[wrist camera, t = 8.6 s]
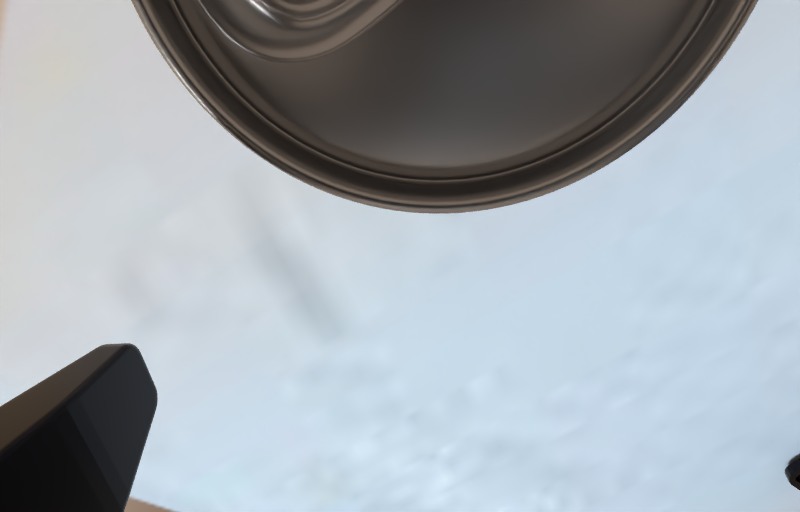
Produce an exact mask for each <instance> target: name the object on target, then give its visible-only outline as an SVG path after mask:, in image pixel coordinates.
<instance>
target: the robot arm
mask: <svg viewBox="0 0 800 512" xmlns="http://www.w3.org/2000/svg"><path fill="white" fill-rule="evenodd" d="M156 407H157V390H156V387H155V385H154V382H153V380H152V378H151V375H150V373H149V371H148V369H147V366H146V364H145V362H144V360H143V357H142V355H141V353H140V351H139V349H138V348H137V347H136V346H135V345H133V344H129V343H124V344H105V345H102V346H100V347H98V348H96V349H94V350H93V351H91V352H89V353H88V354H86V355H84V356H83V357H81V358H80V359H78V360H76V361H75V362H73V363H71V364H70V365H68V366H66V367H65V368H63V369H61V370H60V371H58V372H56V373H55V374H53V375H52V376H50V377H48V378H47V379H45V380H43V381H42V382H40V383H38V384H37V385H35V386H33V387H32V388H30V389H28V390H27V391H25V392H23V393H22V394H20V395H19V396H17V397H15V398H14V399H12V400H10V401H9V402H7V403H5V404H4V405H2V406H0V512H124V509H125V506H126V503H127V501H128V498H129V495H130V492H131V488H132V485H133V482H134V479H135V476H136V472H137V469H138V466H139V463H140V459H141V456H142V453H143V450H144V446H145V443H146V440H147V437H148V433H149V430H150V427H151V424H152V421H153V417H154V414H155V411H156ZM785 475H786V477H787V479H788V480H789V482H790V483H791V485H793V486H794V487H796V488H797V489H799V490H800V459H799V460H797V461H796V462H794V463H792V464H790V465H789V466H788V467H787V468H786V469H785Z"/></svg>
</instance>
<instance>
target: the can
mask: <svg viewBox="0 0 800 512" xmlns="http://www.w3.org/2000/svg"><path fill="white" fill-rule="evenodd" d="M131 1H132V3H133V5H134V7H135V9H136V11H137V13H138V15H139V17H140V19H141V21H142V23H143V24H144V26H145V28H146V30H147V32H148V33H149V35H150V37H151V39H152V40H153V42H154V44H155V45H156V47H157V48H158V50H159V51H160V53H161V55H162V56H163V58H164V59H165V61H166V62H167V63H168V65H169V66H170V68H171V69H172V71H173V72H174V73H175V75H176V76H177V77H178V79H179V80H180V81H181V82H182V84H183V85H184V86H185V87H186V89H187V90H188V91H189V92H190V93H191V95H192V96H193V97H194V98H195V99H196V100H197V101H198V103H199V104H200V105H201V106H202V107H203V108H204V109H205V110H206V111H207V112H208V113H209V114H210V115H211V116H212V117H213V118H214V119H215V120H216V121H217V122H218V123H219V124H220V125H221V126H222V127H223V128H224V129H225V130H227V131H228V132H229V133H230V134H231V135H232V136H234V137H235V138H236V139H237V140H238V141H240V142H241V143H242V144H243V145H245V146H246V147H247V148H249V149H250V150H251V151H253V152H254V153H255V154H257V155H258V156H260V157H261V158H263V159H264V160H266V161H267V162H269V163H270V164H272V165H273V166H275V167H277V168H278V169H280V170H281V171H283V172H285V173H287V174H289V175H290V176H292V177H294V178H296V179H298V180H300V181H302V182H304V183H306V184H308V185H311V186H313V187H315V188H317V189H320V190H322V191H325V192H327V193H330V194H332V195H335V196H338V197H341V198H344V199H347V200H350V201H354V202H357V203H361V204H365V205H369V206H374V207H378V208H383V209H389V210H396V211H404V212H414V213H463V212H473V211H481V210H488V209H493V208H499V207H504V206H508V205H512V204H516V203H520V202H524V201H527V200H531V199H534V198H537V197H540V196H543V195H545V194H548V193H551V192H554V191H556V190H558V189H561V188H563V187H566V186H568V185H570V184H572V183H574V182H577V181H579V180H581V179H583V178H585V177H587V176H589V175H590V174H592V173H594V172H596V171H598V170H599V169H601V168H603V167H605V166H606V165H608V164H610V163H611V162H613V161H614V160H616V159H618V158H619V157H621V156H622V155H624V154H625V153H626V152H628V151H629V150H631V149H632V148H634V147H635V146H636V145H638V144H639V143H640V142H641V141H643V140H644V139H645V138H647V137H648V136H649V135H650V134H652V133H653V132H654V131H655V130H656V129H658V128H659V127H660V126H661V125H662V124H663V123H664V122H665V121H667V120H668V119H669V118H670V117H671V116H672V115H673V114H674V113H675V112H676V111H677V110H678V109H679V108H680V107H681V106H682V105H683V104H684V103H685V102H686V101H687V100H688V99H689V98H690V97H691V96H692V95H693V93H694V92H695V91H696V90H697V89H698V88H699V87H700V86H701V84H702V83H703V82H704V81H705V80H706V78H707V77H708V76H709V75H710V73H711V72H712V71H713V70H714V69H715V67H716V66H717V65H718V63H719V62H720V61H721V59H722V58H723V56H724V55H725V54H726V52H727V51H728V49H729V48H730V46H731V45H732V44H733V42H734V41H735V39H736V38H737V36H738V34H739V33H740V31H741V30H742V28H743V26H744V25H745V23H746V21H747V20H748V18H749V16H750V14H751V13H752V11H753V9H754V7H755V6H756V4H757V2H758V0H131Z"/></svg>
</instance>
